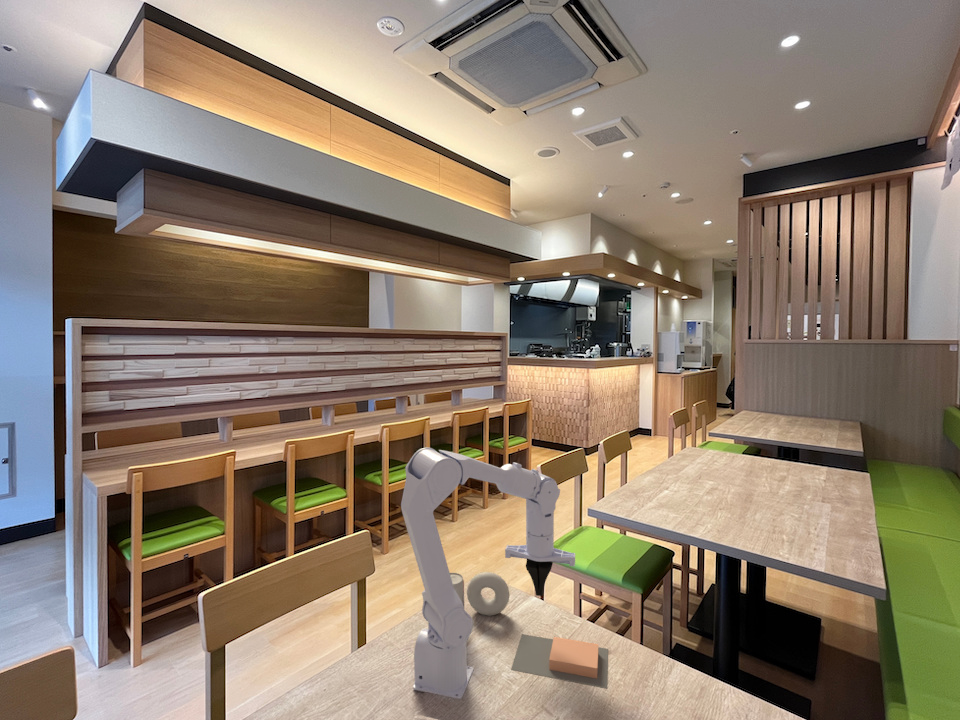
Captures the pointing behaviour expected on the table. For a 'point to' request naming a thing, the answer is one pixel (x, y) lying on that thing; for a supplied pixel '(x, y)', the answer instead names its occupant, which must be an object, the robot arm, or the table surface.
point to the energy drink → (458, 585)
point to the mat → (536, 661)
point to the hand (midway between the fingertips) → (539, 593)
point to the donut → (484, 604)
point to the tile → (574, 657)
